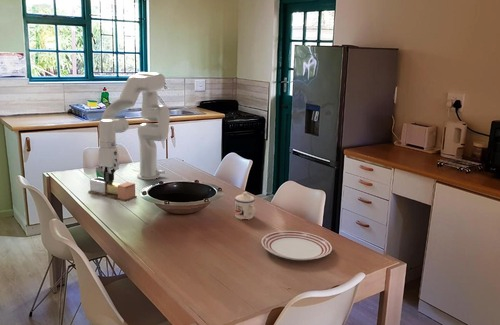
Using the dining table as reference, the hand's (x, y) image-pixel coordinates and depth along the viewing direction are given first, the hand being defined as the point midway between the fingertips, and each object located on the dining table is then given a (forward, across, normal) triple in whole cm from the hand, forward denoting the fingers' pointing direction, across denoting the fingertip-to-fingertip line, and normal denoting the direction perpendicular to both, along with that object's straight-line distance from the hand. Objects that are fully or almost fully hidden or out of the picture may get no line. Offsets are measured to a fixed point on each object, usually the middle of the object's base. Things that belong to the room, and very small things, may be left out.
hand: (108, 179), depth 238 cm
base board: (+8, -2, 0) cm, 8 cm away
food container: (+8, +16, -14) cm, 23 cm away
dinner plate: (+8, -107, +9) cm, 107 cm away
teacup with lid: (+8, -73, -11) cm, 75 cm away
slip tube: (+6, -4, 0) cm, 7 cm away
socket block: (+8, -12, 0) cm, 14 cm away
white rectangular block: (+7, +5, 0) cm, 9 cm away
